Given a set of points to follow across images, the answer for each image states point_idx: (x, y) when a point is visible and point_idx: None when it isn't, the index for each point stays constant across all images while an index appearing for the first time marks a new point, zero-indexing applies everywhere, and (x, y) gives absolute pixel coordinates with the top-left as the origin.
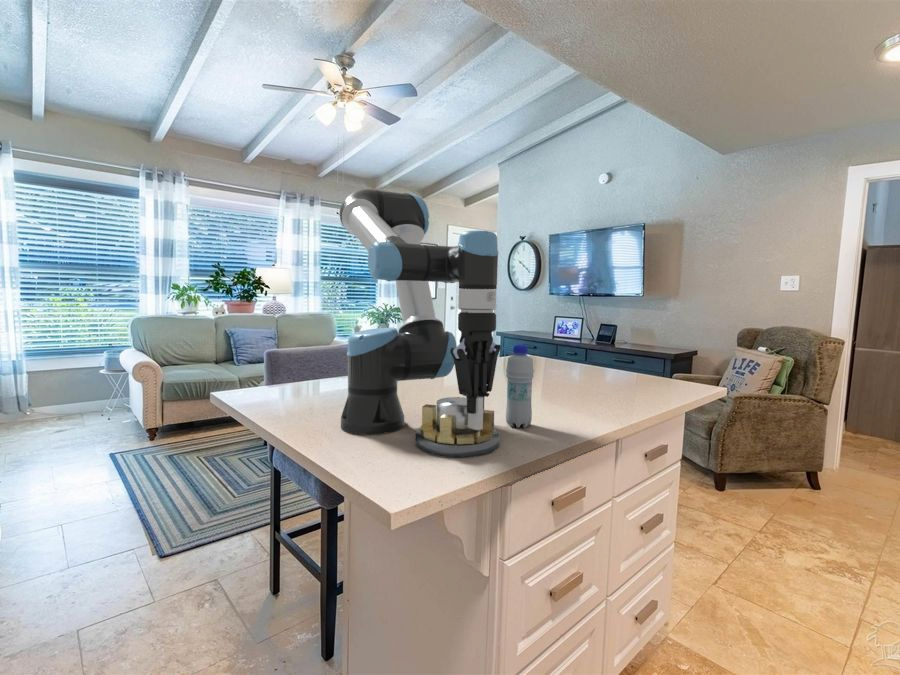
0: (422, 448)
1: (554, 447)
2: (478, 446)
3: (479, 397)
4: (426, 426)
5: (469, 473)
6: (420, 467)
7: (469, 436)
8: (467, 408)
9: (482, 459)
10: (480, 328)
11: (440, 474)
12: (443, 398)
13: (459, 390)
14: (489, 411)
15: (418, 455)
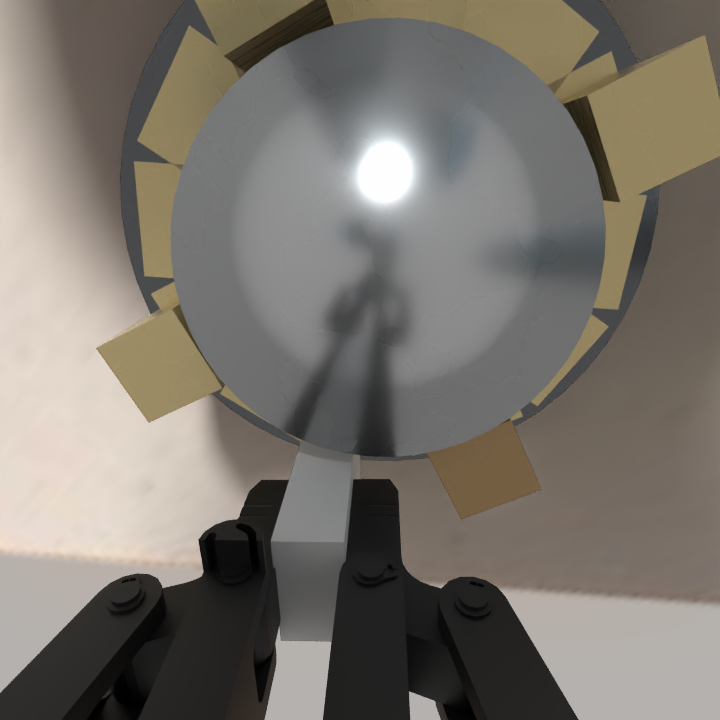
0: None
1: (650, 567)
2: None
3: (310, 630)
4: (222, 63)
5: (162, 507)
6: (31, 347)
7: None
8: (245, 508)
9: None
10: None
11: (65, 447)
12: (380, 32)
13: (83, 619)
14: (497, 480)
15: (98, 226)
